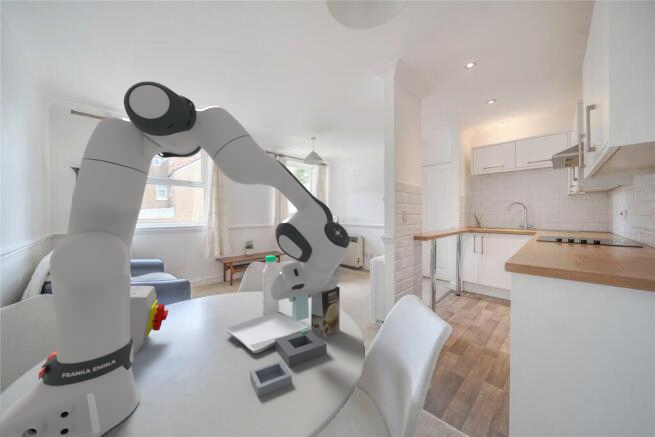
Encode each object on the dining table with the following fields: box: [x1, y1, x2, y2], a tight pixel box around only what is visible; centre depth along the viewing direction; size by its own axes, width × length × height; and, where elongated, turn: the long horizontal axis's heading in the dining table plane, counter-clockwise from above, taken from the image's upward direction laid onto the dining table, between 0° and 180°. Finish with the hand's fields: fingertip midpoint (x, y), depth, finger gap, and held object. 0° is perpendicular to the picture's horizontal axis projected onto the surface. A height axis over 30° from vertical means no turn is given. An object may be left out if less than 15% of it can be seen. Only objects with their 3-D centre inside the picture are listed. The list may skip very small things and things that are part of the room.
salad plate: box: [225, 312, 309, 354], centre depth 84 cm, size 21×21×3 cm
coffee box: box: [310, 285, 341, 340], centre depth 86 cm, size 9×6×16 cm
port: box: [274, 328, 328, 368], centre depth 72 cm, size 12×11×5 cm
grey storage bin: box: [249, 360, 293, 398], centre depth 59 cm, size 8×7×3 cm
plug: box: [291, 294, 310, 322], centre depth 72 cm, size 4×3×11 cm
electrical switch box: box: [130, 285, 169, 356], centre depth 78 cm, size 15×15×20 cm
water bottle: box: [262, 254, 280, 315], centre depth 104 cm, size 7×7×25 cm
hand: (299, 297), depth 72 cm, fingers closed on plug, 4 cm apart
